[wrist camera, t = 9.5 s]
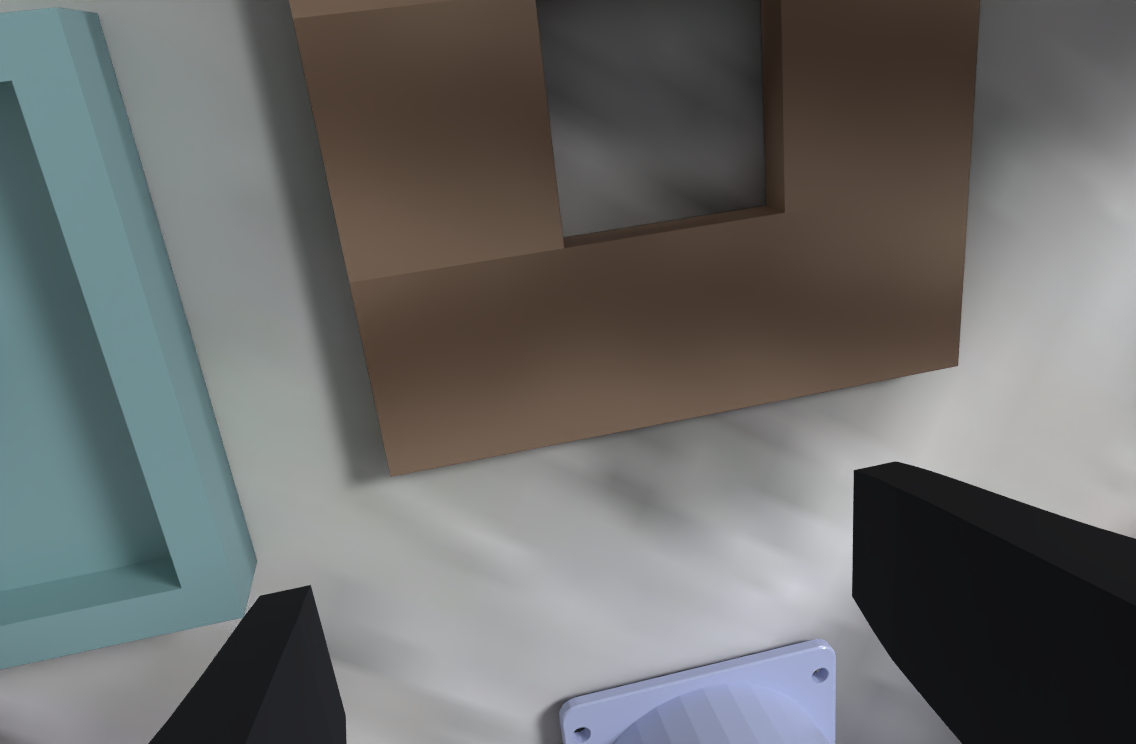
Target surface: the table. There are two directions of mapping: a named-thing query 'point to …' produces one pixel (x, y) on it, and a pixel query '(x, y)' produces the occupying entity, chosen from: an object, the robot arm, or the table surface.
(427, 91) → the walnut socket
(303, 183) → the table surface
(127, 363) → the teal tray
